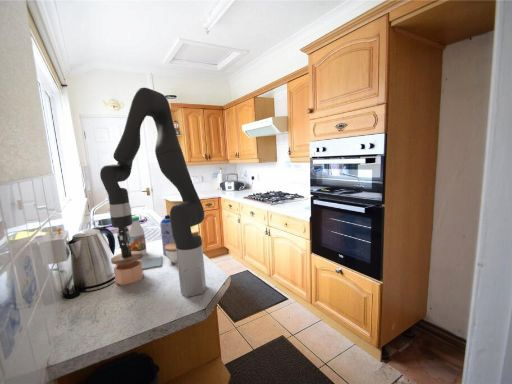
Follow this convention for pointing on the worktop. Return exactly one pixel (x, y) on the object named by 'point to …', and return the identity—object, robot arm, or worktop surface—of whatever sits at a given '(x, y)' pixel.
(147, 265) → the mat
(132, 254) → the lid
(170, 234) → the aerosol can
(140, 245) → the milk bottle
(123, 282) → the bowl
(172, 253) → the lidded jar
